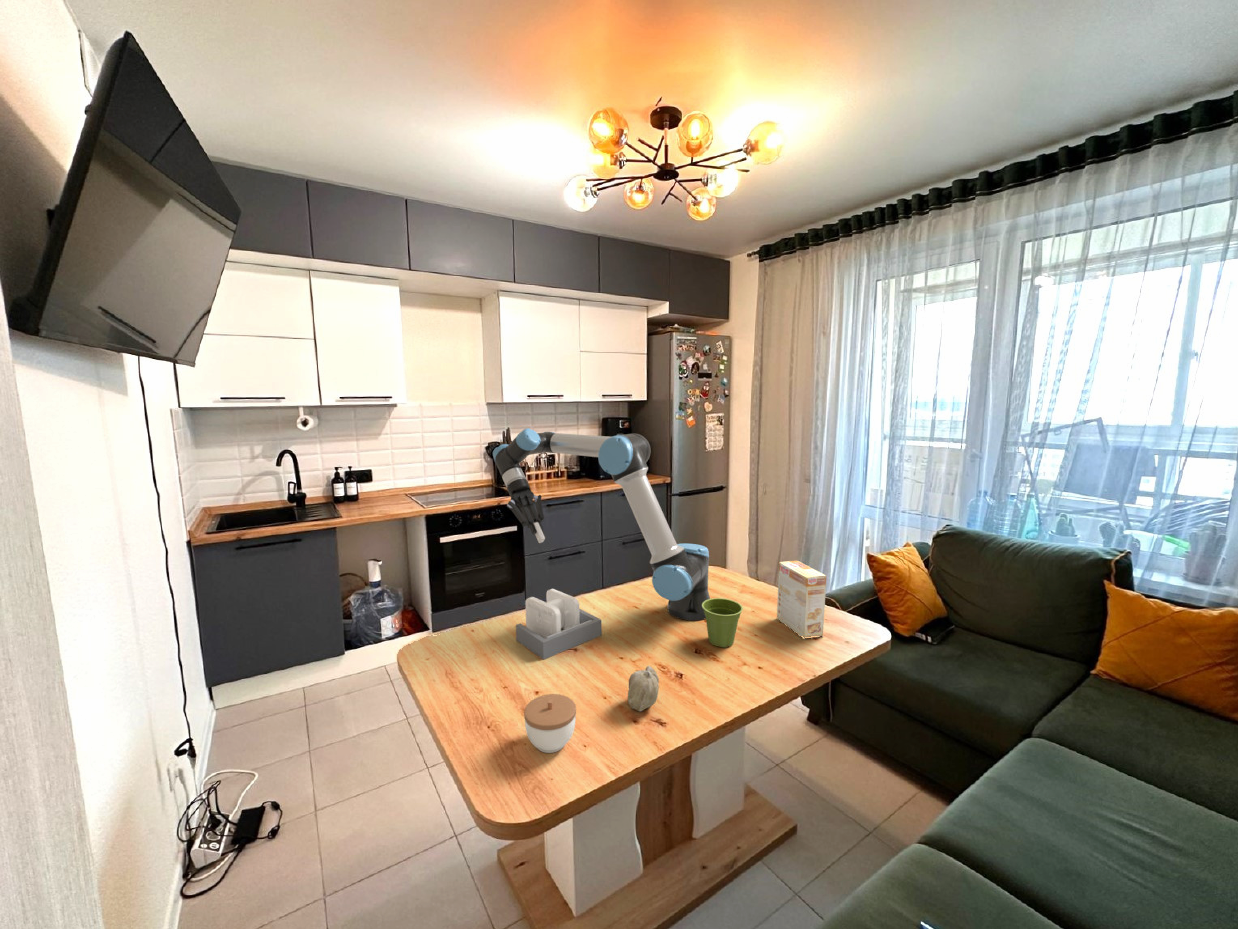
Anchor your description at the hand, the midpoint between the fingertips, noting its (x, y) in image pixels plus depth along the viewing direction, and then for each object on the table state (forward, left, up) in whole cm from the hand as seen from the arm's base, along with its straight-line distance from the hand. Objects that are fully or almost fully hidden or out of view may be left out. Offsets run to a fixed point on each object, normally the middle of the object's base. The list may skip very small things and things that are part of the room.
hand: (542, 540), depth 166 cm
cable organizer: (-17, +8, -25) cm, 31 cm away
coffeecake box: (-65, -52, -25) cm, 87 cm away
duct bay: (-19, +8, -24) cm, 32 cm away
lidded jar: (-56, +36, -25) cm, 71 cm away
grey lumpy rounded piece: (-60, +13, -25) cm, 66 cm away
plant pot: (-55, -26, -25) cm, 65 cm away
